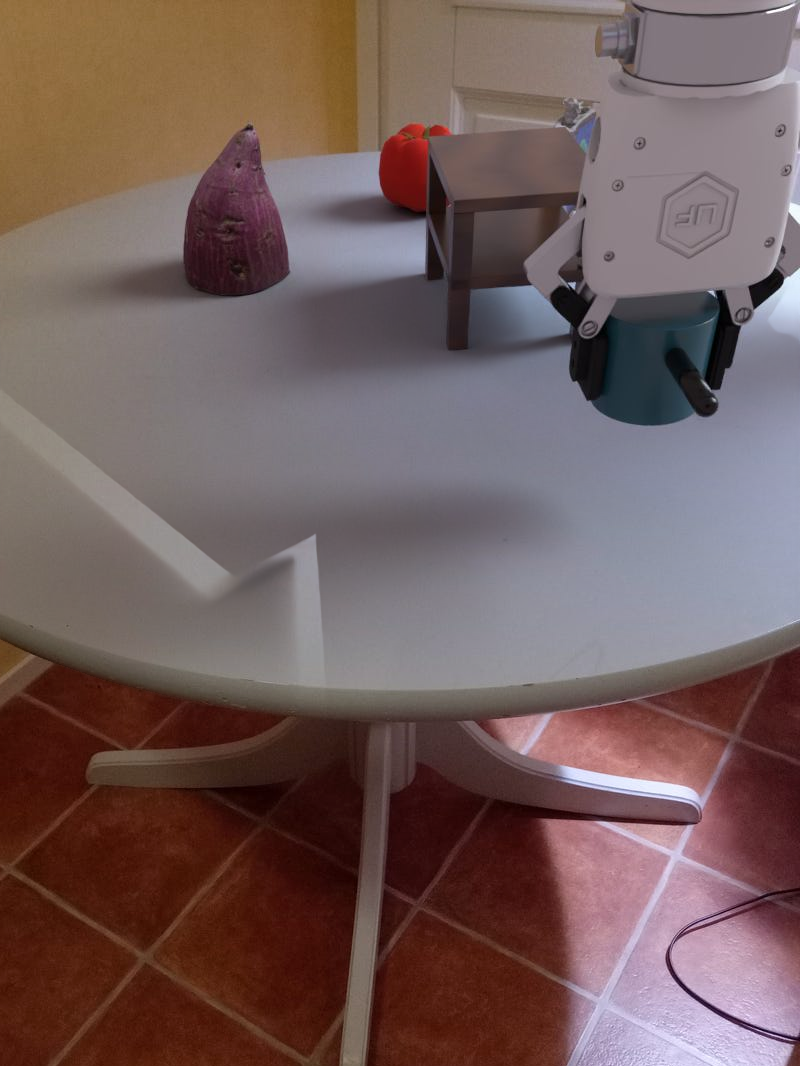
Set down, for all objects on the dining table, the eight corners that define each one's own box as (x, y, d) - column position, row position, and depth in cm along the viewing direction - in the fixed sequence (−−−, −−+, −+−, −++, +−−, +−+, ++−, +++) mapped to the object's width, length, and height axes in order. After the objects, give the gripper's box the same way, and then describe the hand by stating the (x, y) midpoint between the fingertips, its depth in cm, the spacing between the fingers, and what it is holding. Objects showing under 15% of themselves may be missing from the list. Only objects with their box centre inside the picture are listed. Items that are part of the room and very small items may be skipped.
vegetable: (297, 288, 99) (331, 130, 90) (263, 319, 91) (297, 149, 82) (202, 255, 100) (226, 95, 91) (161, 283, 92) (182, 111, 83)
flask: (561, 229, 99) (574, 112, 91) (533, 225, 100) (544, 110, 93) (588, 199, 104) (602, 87, 97) (562, 196, 106) (574, 85, 98)
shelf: (551, 263, 93) (565, 126, 84) (592, 340, 81) (614, 188, 73) (425, 272, 93) (427, 136, 84) (448, 350, 81) (454, 200, 73)
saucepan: (680, 368, 61) (698, 274, 57) (752, 480, 52) (781, 379, 48) (578, 377, 61) (589, 284, 57) (633, 490, 52) (651, 390, 48)
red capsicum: (420, 227, 101) (421, 149, 96) (363, 206, 106) (362, 132, 101) (483, 203, 105) (487, 127, 100) (426, 184, 110) (427, 111, 105)
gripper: (540, 81, 44) (513, 429, 56) (929, 45, 43) (816, 404, 56) (509, 41, 49) (491, 366, 61) (855, 9, 49) (767, 343, 61)
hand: (646, 381), depth 58 cm, fingers closed on saucepan, 6 cm apart
